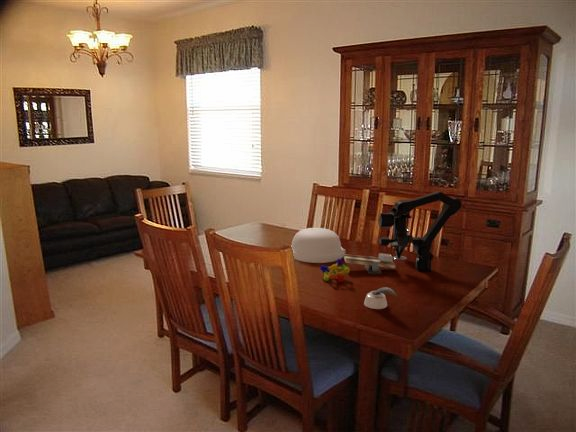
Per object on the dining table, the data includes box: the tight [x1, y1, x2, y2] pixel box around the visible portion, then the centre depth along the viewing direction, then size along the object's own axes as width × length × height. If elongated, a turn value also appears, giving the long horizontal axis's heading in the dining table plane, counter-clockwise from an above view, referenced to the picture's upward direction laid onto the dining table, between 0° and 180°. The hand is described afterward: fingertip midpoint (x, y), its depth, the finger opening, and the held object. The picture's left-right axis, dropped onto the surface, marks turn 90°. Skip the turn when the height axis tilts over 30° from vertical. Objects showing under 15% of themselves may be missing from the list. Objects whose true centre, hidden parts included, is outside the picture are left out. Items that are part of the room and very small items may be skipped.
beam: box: [343, 253, 397, 269], centre depth 222 cm, size 24×7×3 cm, turn 90°
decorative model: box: [319, 258, 351, 284], centre depth 209 cm, size 13×9×15 cm
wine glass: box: [393, 228, 410, 261], centre depth 241 cm, size 8×8×15 cm
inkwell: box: [363, 286, 399, 310], centre depth 177 cm, size 9×18×10 cm, turn 27°
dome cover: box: [290, 227, 347, 264], centre depth 247 cm, size 32×30×14 cm
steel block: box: [377, 252, 394, 263], centre depth 222 cm, size 6×4×4 cm
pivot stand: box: [364, 255, 382, 275], centre depth 222 cm, size 6×11×6 cm, turn 0°
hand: (398, 258), depth 222 cm, fingers closed
